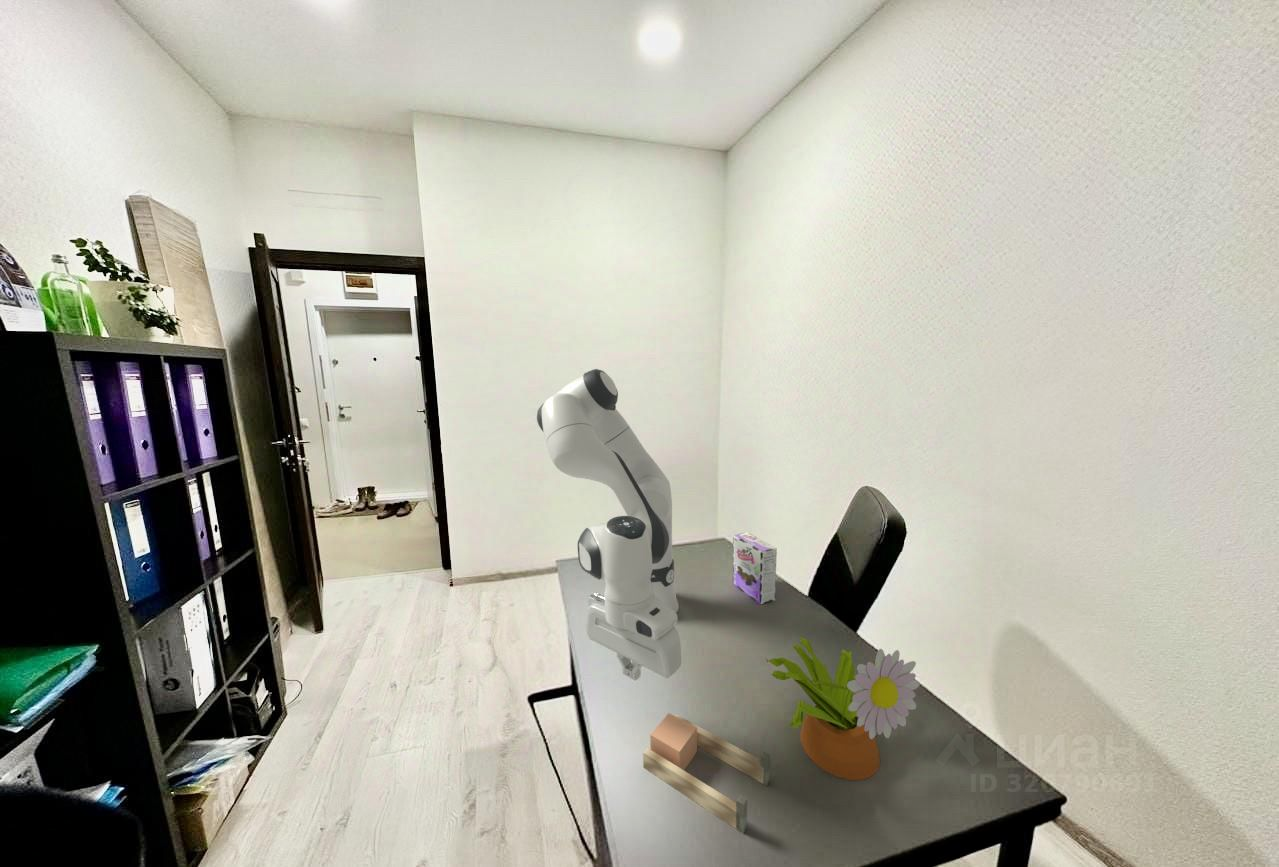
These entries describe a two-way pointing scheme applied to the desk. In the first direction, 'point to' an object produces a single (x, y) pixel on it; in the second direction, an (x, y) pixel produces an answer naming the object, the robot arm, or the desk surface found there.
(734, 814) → the chute
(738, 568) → the candy box
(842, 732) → the decorative plant
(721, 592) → the desk surface
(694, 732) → the block
